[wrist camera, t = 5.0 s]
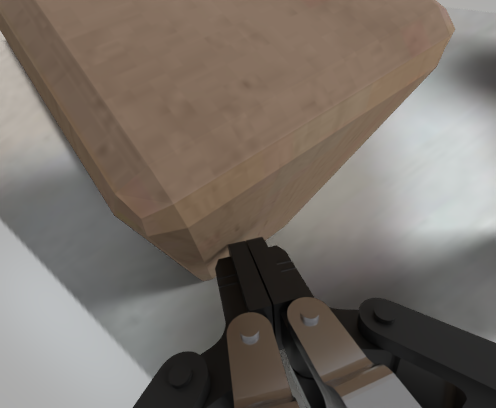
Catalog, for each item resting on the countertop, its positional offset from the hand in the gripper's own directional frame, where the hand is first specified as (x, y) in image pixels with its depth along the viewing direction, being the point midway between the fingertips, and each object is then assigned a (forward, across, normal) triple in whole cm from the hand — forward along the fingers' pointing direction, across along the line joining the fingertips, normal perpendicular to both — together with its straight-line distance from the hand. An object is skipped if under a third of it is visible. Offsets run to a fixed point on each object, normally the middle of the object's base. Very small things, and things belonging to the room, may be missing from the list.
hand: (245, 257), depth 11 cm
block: (+14, 0, +5) cm, 14 cm away
